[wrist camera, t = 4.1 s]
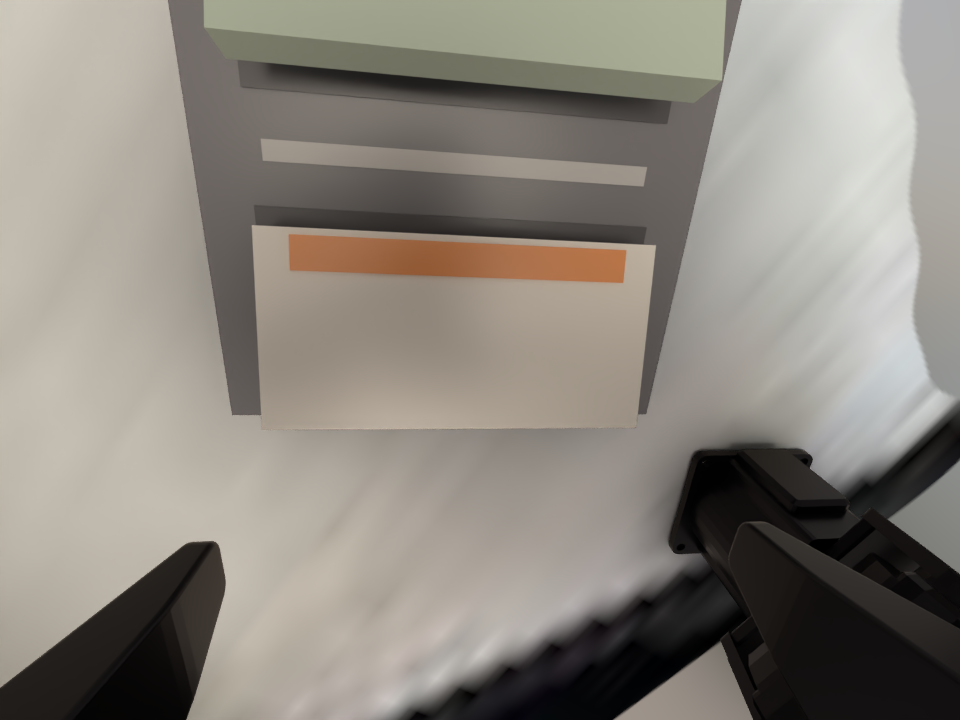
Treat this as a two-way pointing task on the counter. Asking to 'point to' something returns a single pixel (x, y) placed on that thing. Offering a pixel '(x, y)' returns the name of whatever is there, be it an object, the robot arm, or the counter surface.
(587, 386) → the plate
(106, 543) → the counter surface
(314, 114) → the rocker switch panel
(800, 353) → the counter surface
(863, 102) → the counter surface
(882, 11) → the counter surface
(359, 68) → the green rocker
